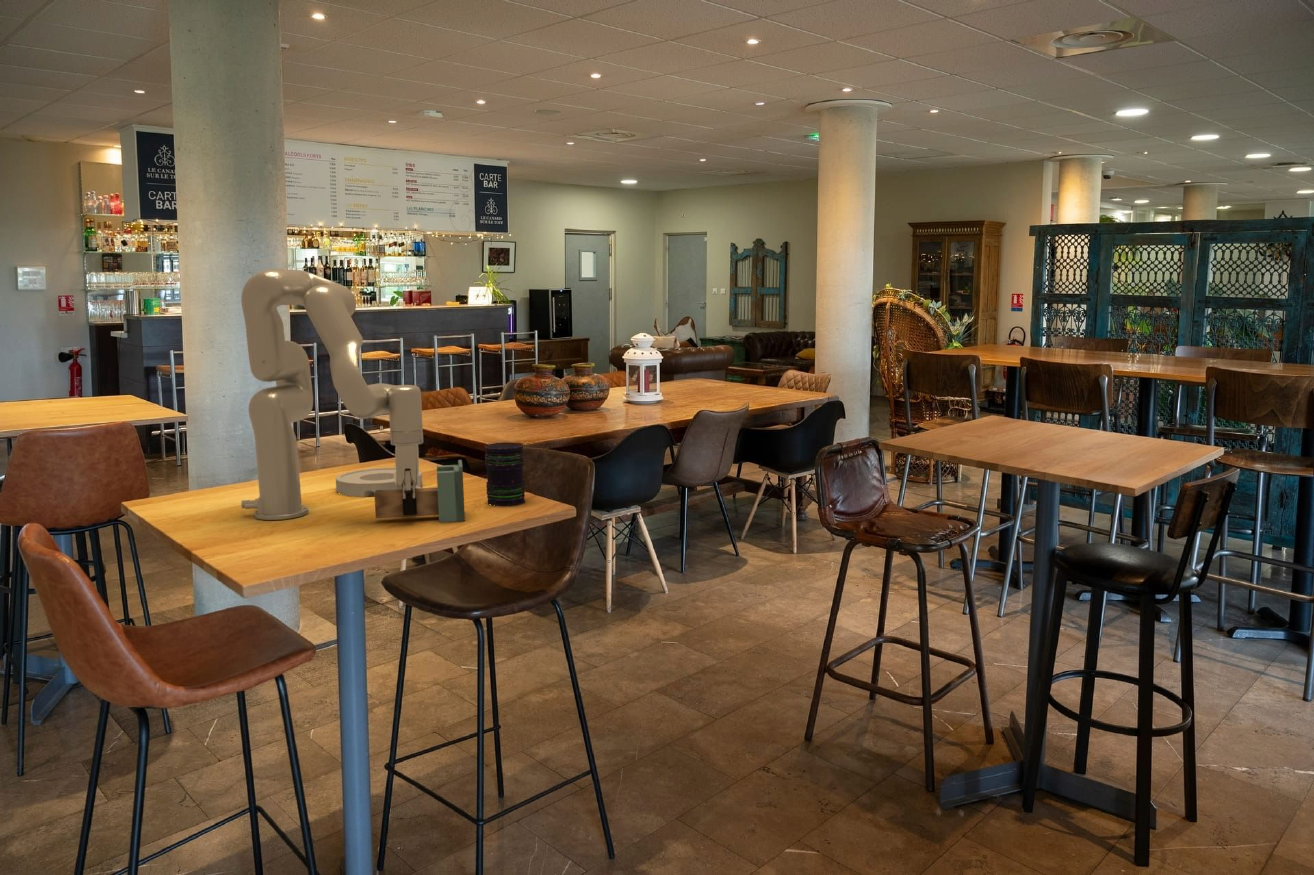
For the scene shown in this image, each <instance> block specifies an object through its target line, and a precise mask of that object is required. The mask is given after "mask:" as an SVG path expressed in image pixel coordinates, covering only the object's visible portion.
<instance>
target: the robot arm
mask: <svg viewBox="0 0 1314 875" xmlns="http://www.w3.org/2000/svg"><path fill="white" fill-rule="evenodd" d="M240 302H241V308H242V309H241V310H242V313H243V318H244V324H245V333H246V334H245V335H246V342H247V344H246V345H247V352H248V361H249V367H250V372H251V374H252V375H253V377H254V378H255V379H256V380H258V381H261V382H265V383H266V382H267V383H270V382H275V385H276V386H270V387H266V388H262V389H261V390H259V391H257V392H256V393H255V394H253V396H252V397H251V399H250V400H249V404H248V415H249V419H250V422H251V426H252V430H253V435H254V436H253V437H254V444H255V454H256V463H257V464H256V466H257V478H258V481H257V482H258V492H259V497H258V498H255V499H254V500H249V499H247V500H241V509H245V510H252V509H254V510H255V511H254V513H253V516H254V518H255V519H258V520H264V521H280V520H289V519H290V520H291V519H295V518H299V517H303V516H306V515H307V514H308V513H309V512H310V511H309V510H310V509H309V506H307V505H303V504H302V491H301V476H300V467H299V466H300V464H299V451H298V442H297V436H296V433H295V431H294V429H293V425H292V423H295V422H296V423H297V422H299V421H302V420H304V419H306V418H307V417H308V416H309V415H310V414H311V412H312V410H313V407H314V394H313V384H312V383H313V382H312V374H311V367H310V365H311V364H310V360H309V357H308V354H307V352H306V351H305V349H304V348H303V346H301V345H300V344H299V343H297V342H295V341H293V340H292V341H291V340H286V337H285V327H284V322H283V319H282V317H281V315H280V313H279V312H278V307H279V306H296V305H297V306H302V307H304V310H305V312H306V314H307V317H309V320H310V321H311V322H312V324H313V327H314V328H315V331H316V332H317V334H318V335H319V337H320V339H321V341H322V344H323V345H324V347H325V349H326V351H327V352H328V354H329V358H330V359H329V368H330V373H331V374H330V375H331V376H330V377H331V380H332V383H333V387H334V388H335V391H336V392H337V394H338V396H339V398H340V399H341V402H342V403H343V406H344V407H345V408H346V410H347V411H348V412H349V413H350V414H351V415H353V416H354V417H355V418H357V419H361V420H362V419H363V420H365V419H370V418H374V417H378V416H382V415H386V414H388V415H389V416H388V417H389V418H388V419H389V431H390V432H389V433H390V434H389V435H390V445H391V446H395V448H394V449H395V450H394V454H395V456H394V458H395V468H396V486H398V487H399V486H400V485H402V482H403V499H402V501H403V515H416V514H417V501H416V498H415V489H416V487H415V486H416V485H417V483H418V474H419V471H420V470H419V469H420V465H419V464H420V461H419V460H420V458H419V456H420V455H419V454H420V453H419V445H422V444H424V432H423V431H424V430H423V427H424V426H423V410H422V409H423V408H422V407H423V406H422V404H423V403H422V392H421V389H420V387H419V386H418V385H414V384H398V385H394V384H390V383H381V382H380V383H372V384H367V383H366V380H365V378H364V376H363V375H362V373H361V369H360V366H359V362H358V359H359V358H358V357H359V352H360V350H361V348H362V346H363V344H364V338H363V336H362V334H361V333H360V331H359V329H358V328H357V326H356V324H355V322H354V320H353V318H352V315H353V314H354V313H355V311H356V308H357V300H356V297H355V295H354V293H353V292H352V291H351V290H350V289H349V288H348V287H346V286H345V285H343V284H340V283H339V282H334V281H332V280H329V279H327V278H324V277H323V276H322V277H321V276H319V275H317V274H314V273H312V272H309V271H306V270H302V269H301V270H300V269H284V268H283V269H282V268H281V269H280V268H278V269H276V268H275V269H274V268H273V269H265V270H262V271H260V272H257V273H255V274H254V275H252V276H251V277H250V278H249V279H247V281H246V282H245V284H244V286H243V288H242V292H241V301H240ZM412 489H413V490H412Z"/></svg>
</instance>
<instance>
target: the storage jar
mask: <svg viewBox="0 0 1314 875" xmlns="http://www.w3.org/2000/svg"><path fill="white" fill-rule="evenodd" d="M484 450H485V452H484V453H485V457H484V459H485V460H484V461H485V464H484V465H485V468H486V477H487V478H486V479H487V480H486V485H485V487H486V489H485V490H486V498H487V502H488V504H491V505H495V506H494V507H496V506H509V507H516V506H520V505H523V504H525V503H526V500H525V496H526V487H525V486H526V483H525V480H524V466H525V461H524V460H525V455H524V444H523V443H519V442H496V443H488V444H486V445H484ZM488 504H487V505H488Z"/></svg>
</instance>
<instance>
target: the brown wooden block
mask: <svg viewBox="0 0 1314 875" xmlns="http://www.w3.org/2000/svg"><path fill="white" fill-rule="evenodd" d="M412 490H413V489H412ZM415 498H416V501H417V514H416V515H403V501H402V499H403V489H394V490H375V497H374V508H375V509H374V510H375V511H374V512H375V520H376V519H392V518H393V519H394V518H396V519H397V518H414V517H431V516H439V509H438V488H437V487H421V488H416V489H415Z"/></svg>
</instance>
